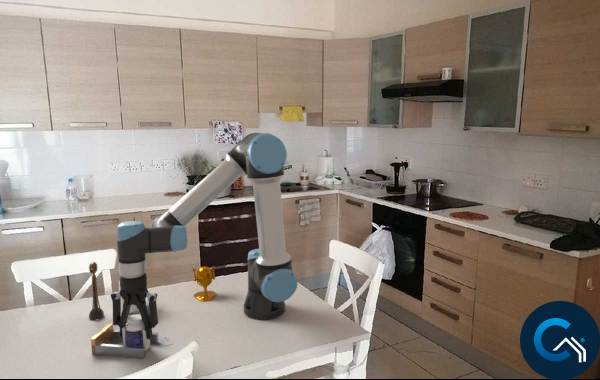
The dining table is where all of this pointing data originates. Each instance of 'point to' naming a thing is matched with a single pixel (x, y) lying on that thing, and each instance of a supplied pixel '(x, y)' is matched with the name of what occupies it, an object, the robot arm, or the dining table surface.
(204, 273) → the gold trophy cup
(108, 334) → the rail cradle
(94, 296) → the wooden tabletop sculpture
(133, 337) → the pill bottle
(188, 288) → the dining table surface
